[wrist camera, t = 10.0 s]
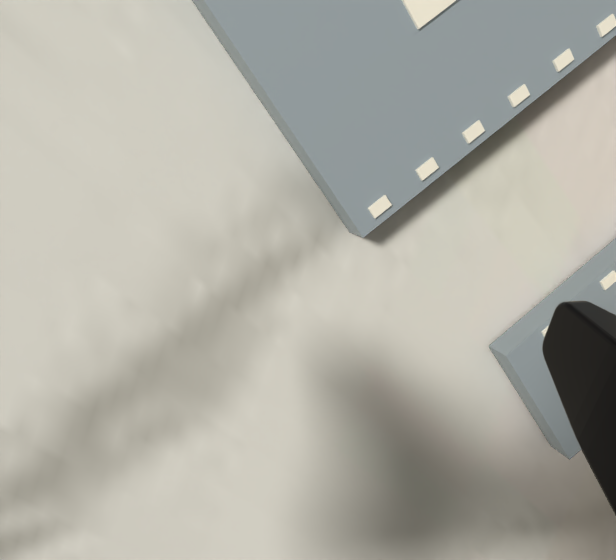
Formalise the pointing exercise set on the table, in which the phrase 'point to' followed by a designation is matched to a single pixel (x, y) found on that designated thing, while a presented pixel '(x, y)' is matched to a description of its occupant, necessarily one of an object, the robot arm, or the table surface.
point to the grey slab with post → (529, 339)
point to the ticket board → (399, 81)
